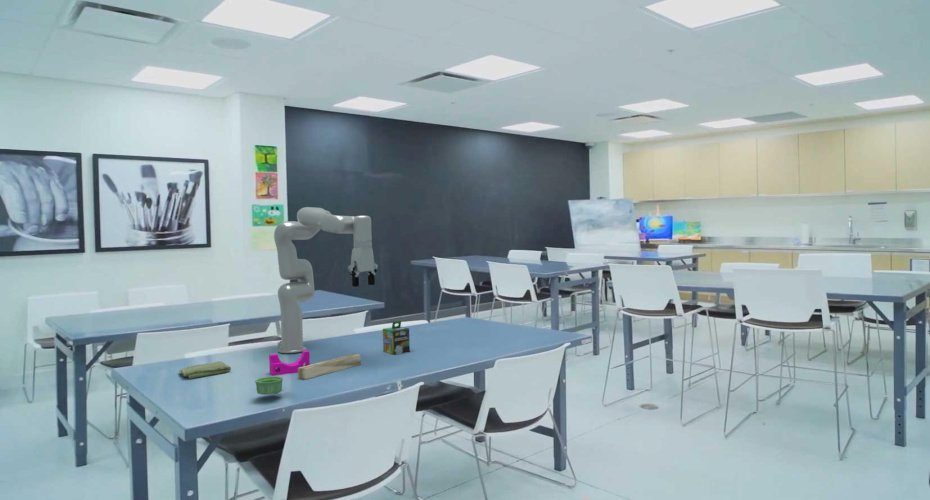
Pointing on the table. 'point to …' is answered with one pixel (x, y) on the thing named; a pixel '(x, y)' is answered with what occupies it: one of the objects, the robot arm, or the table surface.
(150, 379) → the table surface
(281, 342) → the robot arm
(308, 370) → the board
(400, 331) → the chalk box
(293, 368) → the toy block
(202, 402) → the table surface
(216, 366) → the washcloth
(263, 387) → the ramekin
